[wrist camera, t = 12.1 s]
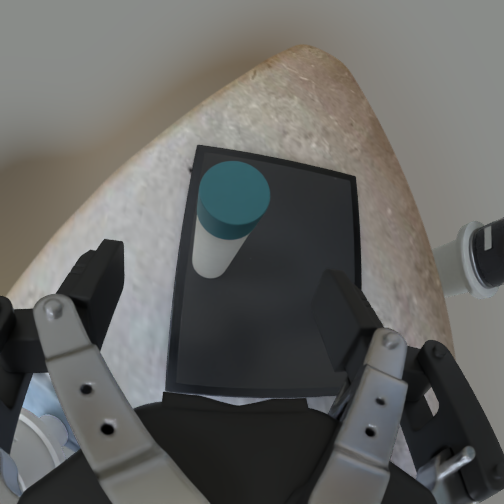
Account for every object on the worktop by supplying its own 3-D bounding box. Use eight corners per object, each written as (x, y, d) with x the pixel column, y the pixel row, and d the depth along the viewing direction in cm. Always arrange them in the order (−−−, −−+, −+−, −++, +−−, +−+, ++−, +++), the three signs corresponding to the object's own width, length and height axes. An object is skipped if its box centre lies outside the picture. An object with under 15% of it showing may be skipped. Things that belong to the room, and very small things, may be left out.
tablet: (351, 180, 29) (356, 176, 28) (351, 392, 24) (357, 393, 23) (196, 150, 26) (197, 143, 26) (166, 388, 21) (165, 391, 20)
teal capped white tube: (230, 245, 24) (272, 166, 12) (226, 281, 23) (269, 230, 12) (194, 240, 23) (204, 155, 12) (189, 276, 22) (194, 219, 11)
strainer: (105, 446, 18) (36, 549, 4) (56, 475, 16) (-20, 558, 2) (53, 378, 18) (-70, 411, 4) (8, 412, 16) (-100, 450, 2)
